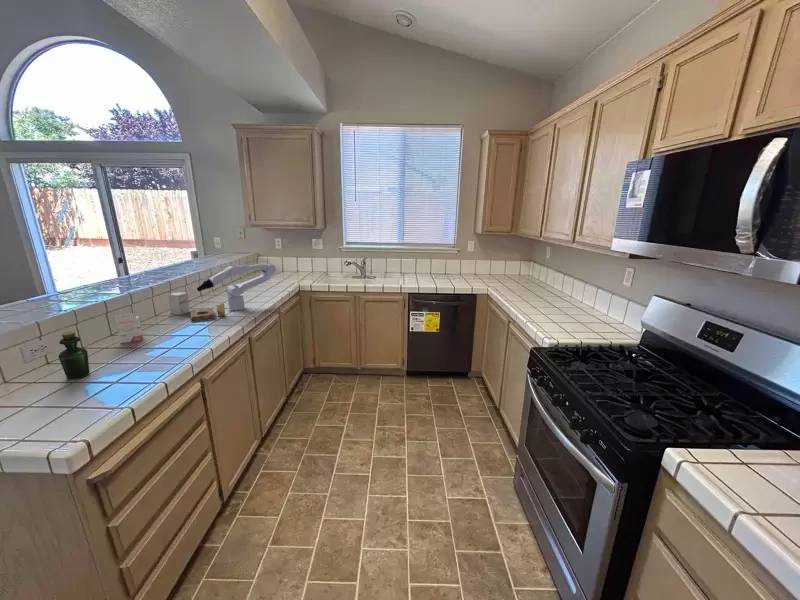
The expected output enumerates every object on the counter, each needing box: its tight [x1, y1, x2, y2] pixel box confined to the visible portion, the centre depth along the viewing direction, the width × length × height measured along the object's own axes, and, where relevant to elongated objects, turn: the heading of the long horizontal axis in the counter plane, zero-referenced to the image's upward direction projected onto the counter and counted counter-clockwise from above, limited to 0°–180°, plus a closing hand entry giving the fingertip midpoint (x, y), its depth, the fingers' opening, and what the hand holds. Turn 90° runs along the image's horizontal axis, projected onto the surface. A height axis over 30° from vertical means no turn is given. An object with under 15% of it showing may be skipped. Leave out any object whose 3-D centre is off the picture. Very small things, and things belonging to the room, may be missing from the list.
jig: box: [190, 307, 216, 322], centre depth 204 cm, size 12×16×3 cm
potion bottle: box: [57, 331, 90, 380], centre depth 129 cm, size 8×8×18 cm
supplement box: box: [167, 291, 190, 315], centre depth 209 cm, size 7×7×13 cm
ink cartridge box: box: [114, 312, 144, 344], centre depth 164 cm, size 9×5×15 cm, turn 118°
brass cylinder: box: [216, 302, 226, 318], centre depth 206 cm, size 4×4×8 cm
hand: (198, 289), depth 203 cm, fingers open, 7 cm apart
